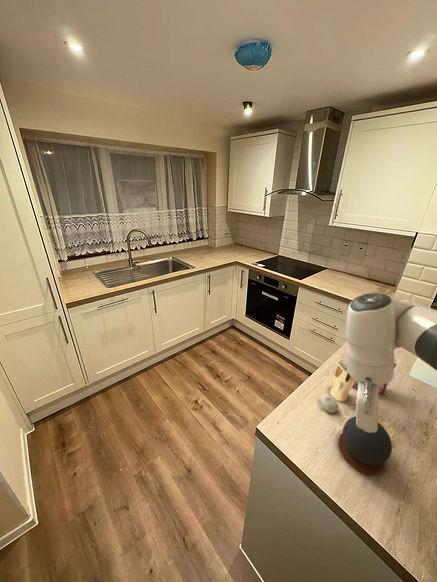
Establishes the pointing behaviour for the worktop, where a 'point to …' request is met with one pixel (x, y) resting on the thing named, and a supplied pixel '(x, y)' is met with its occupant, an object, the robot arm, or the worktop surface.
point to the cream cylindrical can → (341, 382)
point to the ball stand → (365, 447)
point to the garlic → (329, 404)
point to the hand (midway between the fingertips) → (368, 413)
